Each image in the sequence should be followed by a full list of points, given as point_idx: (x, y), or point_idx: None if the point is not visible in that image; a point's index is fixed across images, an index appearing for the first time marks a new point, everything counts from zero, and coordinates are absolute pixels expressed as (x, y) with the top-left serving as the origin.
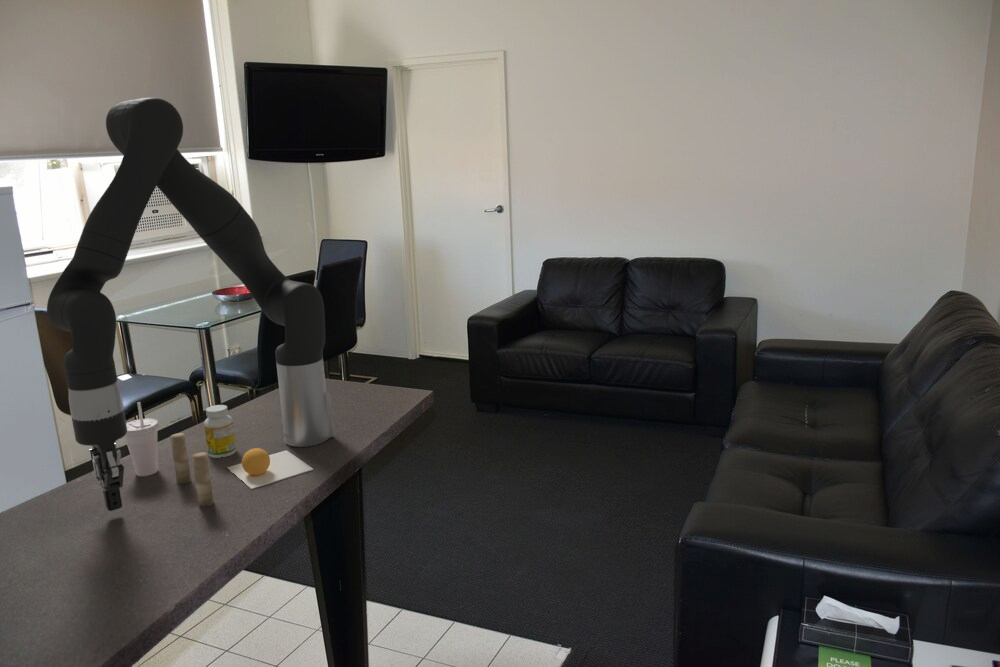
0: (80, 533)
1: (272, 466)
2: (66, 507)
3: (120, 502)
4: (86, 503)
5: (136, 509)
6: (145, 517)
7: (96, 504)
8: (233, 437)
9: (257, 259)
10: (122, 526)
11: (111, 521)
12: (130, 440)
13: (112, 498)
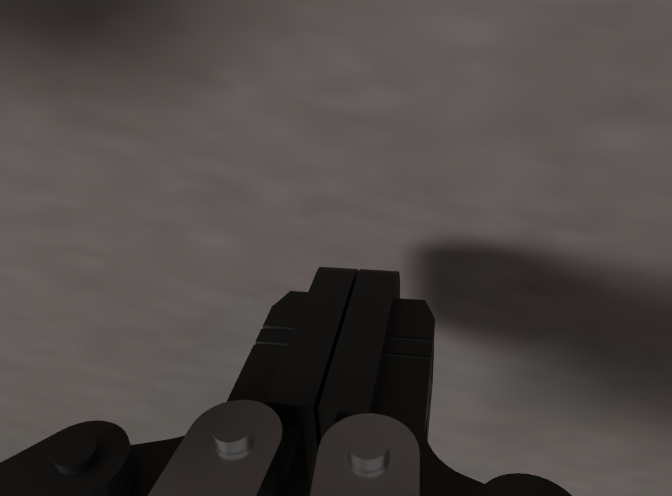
0: (471, 461)
1: None
2: (59, 409)
3: (393, 300)
4: (51, 331)
5: (358, 113)
6: (595, 95)
7: (95, 297)
8: None
9: None
10: (600, 280)
11: (441, 307)
12: None
13: (428, 417)
